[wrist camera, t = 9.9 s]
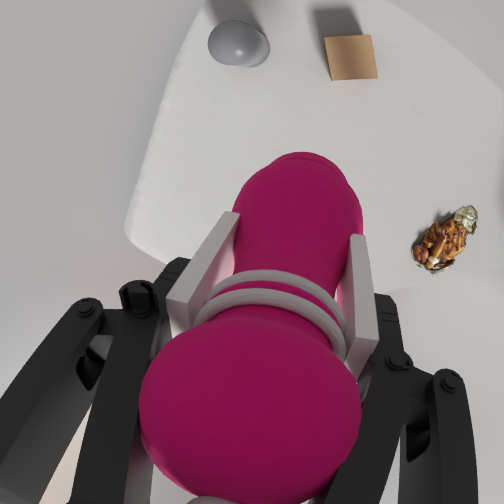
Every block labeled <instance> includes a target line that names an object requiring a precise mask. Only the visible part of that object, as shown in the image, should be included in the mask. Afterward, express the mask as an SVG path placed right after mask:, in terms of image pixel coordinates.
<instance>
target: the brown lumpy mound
mask: <svg viewBox="0 0 504 504" xmlns="http://www.w3.org/2000/svg"><path fill="white" fill-rule="evenodd" d="M477 220H478V212H476V211H475V210H474V209H473V208H472V207H471V206H470V205H469V206H468V207H467V208H464V207H461V208H460V209H458V210H457V211H456V214H455V217H454V219H450V220H448V221H447V222H445V223H444V224H443V225H442V226H441V227H440V226H439V223H438V221H435V223H434V224H433V225H432V226H431V227H430V228H429V229H428V230H427V231H426V233H425V234H424V240H423V242H422V243H421V245H419V246H418V245H416V246H414V247H413V249H412V256H413V260H414V261H417V262H418V264H419V265H418V264H417V266H418V267H421V266H422V265H423V266H424V267H425V269H426V270H428V271H430V272H431V273H432V274H434V275H437V273H440V272H442V271H444V270H445V269H447V268H451V266H452V265H453V263H454V262H455V259H454V258H455V257H456V256H457V255H458V254H460V253H461V252H462V250H463V249H464V248H465V246H466V242H465V240H466V238H467V235H468V234H470V233H471V232H472V233H471V234H472V235H473V234H474V233H475V231H476V230H477V228H478V227H477V226H476V224H475V221H477ZM471 226H472V227H471ZM464 238H465V239H464ZM420 265H421V266H420ZM441 265H442V266H441ZM436 266H438V267H441V268H439V269H433V268H432V267H434V268H435V267H436ZM421 268H422V267H421ZM432 276H433V275H432Z"/></svg>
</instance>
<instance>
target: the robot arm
mask: <svg viewBox="0 0 504 504" xmlns="http://www.w3.org/2000/svg"><path fill="white" fill-rule="evenodd" d="M239 217H240V213H234V212H228V211H225V212H224V214H223V215H222V217H221V218H220V219H219V221H218V222H217V224H216V225H215V226H214V228H213V229H212V231H211V232H210V233H209V235H208V236H207V238H206V239H205V241H204V242H203V243H202V245H201V246H200V248H199V249H198V251H197V252H196V254H195V255H194V256H193V258H192V259H186V258H181V257H178V258H176V259H174V260H173V261H171V262H169V263H168V265H167V266H166V267H165V268H164V270H163V272H161V274H160V275H159V277H158V278H157V279H156V280H155V282H154V283H151V282H149V281H145V280H134V281H131V282H128V283H127V284H125V285H124V286H122V287H121V289H120V290H119V295H120V298H121V303H122V306H123V309H103V305H102V304H101V302H100V301H99V300H97V299H95V298H83V299H81V300H79V301H77V302H76V303H74V304H73V305H72V306H71V307H70V308H69V310H68V311H67V312H66V313H65V314H64V316H63V317H62V318H61V319H60V320H59V322H58V323H57V324H56V325H55V326H54V328H53V329H52V330H51V331H50V333H49V334H48V335H47V336H46V338H45V339H44V340H43V341H42V343H41V344H40V345H39V346H38V348H37V349H36V350H35V352H34V353H33V354H32V356H31V357H30V358H29V360H28V361H27V362H26V364H25V365H24V366H23V368H22V369H21V370H20V372H19V373H18V374H17V376H16V377H15V379H14V380H13V381H12V383H11V384H10V386H9V387H8V389H7V390H6V391H5V393H4V394H3V396H2V397H1V399H0V504H39V502H40V500H41V498H42V496H43V494H44V492H45V490H46V488H47V486H48V484H49V482H50V480H51V478H52V476H53V474H54V472H55V470H56V468H57V466H58V464H59V463H60V461H61V459H62V457H63V455H64V453H65V451H66V449H67V447H68V446H69V444H70V442H71V440H72V438H73V436H74V434H75V433H76V431H77V429H78V427H79V425H80V424H81V422H82V420H83V418H84V417H85V415H86V413H87V411H88V410H89V408H90V406H91V404H92V407H91V411H90V414H89V418H88V422H87V426H86V429H85V433H84V437H83V441H82V446H81V450H80V454H79V459H78V463H77V468H76V473H75V478H74V483H73V488H72V493H71V497H70V500H69V502H68V503H67V504H150V494H151V483H152V474H153V464H154V463H153V462H152V460H151V458H150V457H149V455H148V453H147V452H146V450H145V448H144V446H143V443H142V440H141V436H140V430H139V396H140V391H141V386H142V381H143V378H144V376H145V374H146V372H147V370H148V367H149V365H150V364H151V362H152V361H153V359H154V358H155V357H156V355H157V354H158V353H159V352H160V351H161V349H162V348H163V347H164V346H165V344H166V343H167V342H168V341H170V340H171V339H172V338H174V337H175V336H177V335H178V334H180V333H182V332H184V331H187V330H189V329H191V328H193V324H194V321H195V318H196V316H197V314H198V313H199V311H200V310H201V308H202V307H203V304H204V301H205V299H206V297H207V295H208V294H209V292H210V291H211V290H212V288H213V287H214V286H215V285H217V284H218V283H219V282H221V281H222V280H224V279H225V278H228V277H230V276H231V275H232V272H233V270H234V250H233V248H234V242H235V235H236V230H237V226H238V221H239ZM337 304H338V305H339V307H340V309H341V311H342V313H343V315H344V318H345V322H346V328H347V330H346V339H345V343H346V358H345V361H344V365H345V366H346V367H347V368H348V370H349V371H350V372H351V374H352V375H353V377H354V379H355V381H356V383H357V386H358V388H359V392H360V400H361V409H362V417H361V422H360V427H359V431H358V436H357V439H356V441H355V444H354V446H353V447H352V449H351V451H350V453H349V455H348V457H347V458H346V460H345V461H344V462H343V463H342V464H341V465H340V467H339V468H338V470H337V472H336V473H335V475H334V477H333V478H332V480H331V481H330V482H329V484H328V485H327V486H326V487H325V489H324V490H323V491H322V492H321V493H320V495H318V496H316V497H314V498H311V499H310V500H309V502H308V504H379V502H380V499H381V497H382V494H383V491H384V488H385V485H386V482H387V479H388V476H389V473H390V469H391V466H392V462H393V459H394V456H395V452H396V448H397V445H398V441H399V437H400V474H399V493H398V504H478V481H477V466H476V455H475V445H474V437H473V429H472V423H471V416H470V410H469V405H468V399H467V394H466V389H465V384H464V382H463V379H462V378H461V377H460V375H459V374H458V373H456V372H455V371H453V370H450V369H440V370H439V371H437V372H436V373H435V374H434V375H432V374H429V373H427V372H424V371H422V370H420V369H418V368H416V367H414V366H413V361H412V359H411V358H410V356H409V355H408V354H407V353H405V352H404V348H403V341H402V335H401V329H400V324H399V318H398V312H397V307H396V304H395V303H394V301H393V300H392V298H391V297H390V296H388V295H382V294H377V293H374V290H373V283H372V276H371V269H370V262H369V256H368V250H367V244H366V238H365V236H364V235H359V234H352V235H351V236H350V241H349V249H348V256H347V262H346V266H345V271H344V274H343V276H342V278H341V280H340V281H339V283H338V286H337Z"/></svg>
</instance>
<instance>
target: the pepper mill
mask: <svg viewBox="0 0 504 504" xmlns="http://www.w3.org/2000/svg"><path fill="white" fill-rule="evenodd" d="M232 212H234V213H240V217H239V221H238V226H237V230H236V235H235V242H234V248H233V250H234V272H233V275H232V276H230V277H228V278H225V279H224V280H222V281H221V282H219V283H218V284H217V285H215V286H214V287H213V288H212V290H211V291H210V292H209V294H208V295H207V297H206V299H205V301H204V304H203V307H202V308H201V310H200V311H199V313H198V314H197V316H196V318H195V321H194V324H193V328H191V329H189V330H187V331H184V332H182V333H180V334H178V335H177V336H175V337H174V338H172V339H171V340H170V341H168V342H167V343H166V344H165V346H164V347H163V348H162V349H161V351H160V352H159V353H158V354H157V355H156V357H155V358H154V359H153V361H152V362H151V364H150V365H149V367H148V370H147V372H146V374H145V376H144V378H143V381H142V386H141V391H140V396H139V430H140V436H141V440H142V443H143V446H144V448H145V450H146V452H147V453H148V455H149V457H150V458H151V460H152V462H153V463H154V464H155V465H156V466H157V467H158V469H159V470H160V471H161V472H162V473H163V474H164V475H165V476H166V477H167V478H169V479H170V480H171V481H173V482H174V483H175V484H176V485H178V486H179V487H181V488H182V489H184V490H186V491H188V492H190V493H192V494H194V495H196V496H198V498H195V499H193V500H191V501H190V502H188V503H187V504H301V503H303V502H305V501H307V500H309V499H311V498H314V497H316V496H318V495H320V493H321V492H322V491H323V490H324V489H325V487H326V486H327V485H328V484H329V482H330V481H331V480H332V478H333V477H334V475H335V473H336V472H337V470H338V468H339V467H340V465H341V464H342V463H343V462H344V461H345V460H346V458H347V457H348V455H349V453H350V451H351V449H352V447H353V446H354V444H355V441H356V439H357V436H358V431H359V427H360V422H361V417H362V409H361V400H360V392H359V388H358V386H357V384H356V381H355V379H354V377H353V375H352V374H351V372H350V371H349V370H348V368H347V367H346V366H345V365H344V361H345V358H346V343H345V339H346V330H347V328H346V322H345V318H344V315H343V313H342V311H341V309H340V307H339V305H338V304H337V303H336V301H335V300H334V297H335V291H336V288H337V286H338V283H339V281H340V280H341V278H342V276H343V274H344V271H345V266H346V262H347V256H348V249H349V241H350V236H351V235H352V234H359V235H363V216H362V209H361V206H360V203H359V200H358V198H357V196H356V194H355V193H354V191H353V189H352V188H351V187H350V185H349V184H348V182H347V180H346V178H345V176H344V175H343V173H342V172H341V170H340V169H339V168H338V167H337V166H336V165H335V164H334V163H333V162H331V161H330V160H328V159H326V158H325V157H323V156H320V155H317V154H315V153H310V152H294V153H289V154H286V155H283V156H281V157H279V158H277V159H276V160H274V161H273V162H272V163H271V164H270V165H268V166H266V167H265V168H263V169H261V170H260V171H258V172H256V173H255V174H254V175H253V176H252V177H251V178H250V179H249V180H248V181H247V182H246V183H245V185H244V186H243V187H242V189H241V191H240V193H239V195H238V197H237V199H236V201H235V204H234V206H233V209H232Z"/></svg>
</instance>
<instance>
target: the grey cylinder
mask: <svg viewBox="0 0 504 504" xmlns="http://www.w3.org/2000/svg"><path fill="white" fill-rule="evenodd" d="M208 49H209V52H210V54H211V55H212V57H213V58H214V59H215V60H216V61H218V62H220V63H222V64H226V65H235V66H244V67H254V66H257V65H260V64H261V63H263V62H264V61H265V60H266V59H267V57H268V55H269V52H270V44H269V41H268V40H267V38H266V37H265V36H264V35H263V34H261V33H260V32H258V31H257V30H255V29H254V28H252V27H250V26H249V25H247V24H246V23H244V22H241V21H236V20H230V21H226V22H223V23H221V24H219V25H218V26H216V27H215V28H214V29H213V31H212V32H211V34H210V36H209V39H208Z"/></svg>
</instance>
